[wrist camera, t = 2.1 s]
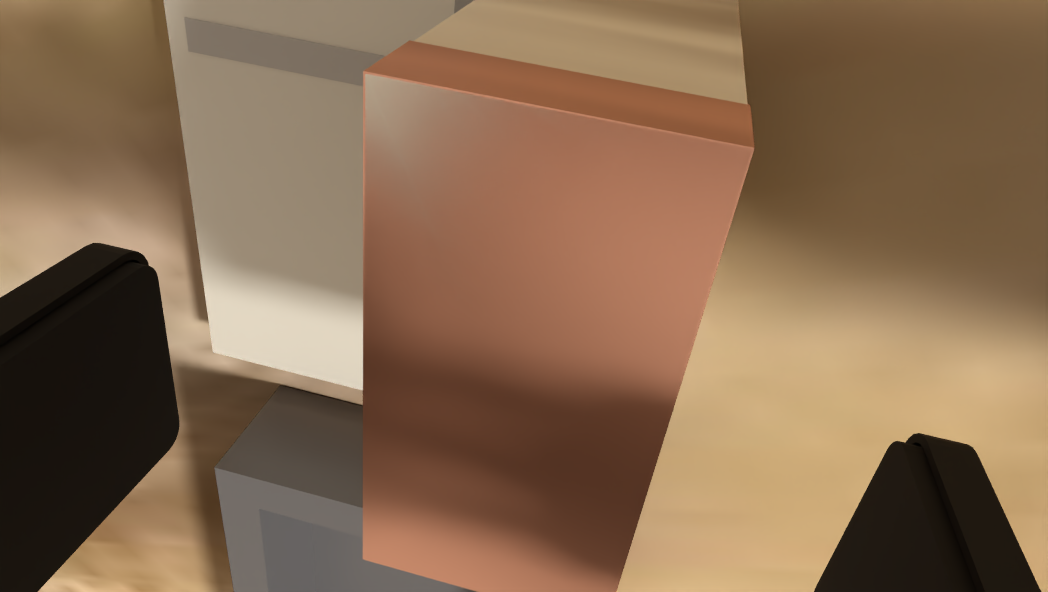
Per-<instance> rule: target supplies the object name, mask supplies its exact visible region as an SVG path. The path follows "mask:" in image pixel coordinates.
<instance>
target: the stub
mask: <svg viewBox="0 0 1048 592" xmlns="http://www.w3.org/2000/svg"><path fill="white" fill-rule="evenodd" d="M754 149H755V146H754V136H753V126H752V116H751V106H750V105H748V104H747V93H746V81H745V70H744V59H743V48H742V37H741V26H740V15H739V4H738V0H474V1H473V2H471V3H470V4H468V5H467V6H465V7H464V8H462V9H461V10H459V11H458V12H456V13H455V14H453V15H452V16H450V17H449V18H447V19H446V20H444V21H443V22H441V23H440V24H438V25H437V26H435V27H434V28H432V29H431V30H429V31H428V32H426V33H425V34H423V35H422V36H420V37H419V38H417V39H416V40H415V41H410V40H409V41H408V42H406V43H405V44H403V45H402V46H400V47H399V48H397V49H396V50H394V51H393V52H391V53H390V54H388V55H387V56H385V57H384V58H382V59H381V60H379V61H378V62H376V63H375V64H373V65H372V66H370V67H369V68H367V69H365V70H364V71H363V560H367V561H370V562H374V563H377V564H381V565H384V566H388V567H392V568H395V569H399V570H402V571H406V572H409V573H413V574H416V575H420V576H424V577H427V578H431V579H434V580H438V581H441V582H445V583H448V584H452V585H455V586H459V587H463V588H466V589H470V590H473V591H477V592H616V591H617V588H618V585H619V581H620V578H621V575H622V572H623V569H624V565H625V562H626V559H627V556H628V553H629V549H630V546H631V543H632V540H633V537H634V533H635V530H636V527H637V524H638V521H639V517H640V514H641V511H642V508H643V505H644V501H645V498H646V495H647V492H648V488H649V485H650V482H651V479H652V476H653V472H654V469H655V466H656V463H657V460H658V456H659V453H660V450H661V447H662V444H663V440H664V437H665V434H666V431H667V428H668V424H669V421H670V418H671V415H672V412H673V408H674V405H675V402H676V399H677V395H678V392H679V389H680V386H681V383H682V379H683V376H684V373H685V370H686V367H687V363H688V360H689V357H690V354H691V351H692V347H693V344H694V341H695V338H696V335H697V331H698V328H699V325H700V322H701V319H702V315H703V312H704V309H705V306H706V303H707V299H708V296H709V293H710V290H711V286H712V283H713V280H714V277H715V274H716V270H717V267H718V264H719V261H720V258H721V254H722V251H723V248H724V245H725V242H726V238H727V235H728V232H729V229H730V226H731V222H732V219H733V216H734V213H735V210H736V206H737V203H738V200H739V197H740V193H741V190H742V187H743V184H744V181H745V177H746V174H747V171H748V168H749V165H750V161H751V158H752V155H753V152H754Z"/></svg>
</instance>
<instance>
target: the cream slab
mask: <svg viewBox="0 0 1048 592" xmlns="http://www.w3.org/2000/svg"><path fill="white" fill-rule="evenodd" d="M473 1H474V0H164V7H165V15H166V22H167V29H168V36H169V43H170V50H171V57H172V64H173V71H174V78H175V86H176V93H177V100H178V107H179V114H180V121H181V128H182V135H183V142H184V150H185V157H186V164H187V171H188V178H189V185H190V192H191V199H192V206H193V213H194V221H195V228H196V235H197V242H198V249H199V256H200V263H201V270H202V277H203V284H204V292H205V299H206V306H207V313H208V320H209V327H210V334H211V341H212V348H213V353H217V354H221V355H225V356H229V357H233V358H237V359H241V360H245V361H249V362H253V363H257V364H261V365H265V366H269V367H273V368H276V369H280V370H284V371H288V372H292V373H296V374H300V375H304V376H308V377H312V378H316V379H320V380H324V381H328V382H332V383H336V384H340V385H344V386H348V387H351V388H355V389H359V390H363V71H364V70H365V69H367V68H369V67H370V66H372V65H373V64H375V63H376V62H378V61H379V60H381V59H382V58H384V57H385V56H387V55H388V54H390V53H391V52H393V51H394V50H396V49H397V48H399V47H400V46H402V45H403V44H405V43H406V42H408V41H409V40H410V41H415V40H416V39H417V38H419V37H420V36H422V35H423V34H425V33H426V32H428V31H429V30H431V29H432V28H434V27H435V26H437V25H438V24H440V23H441V22H443V21H444V20H446V19H447V18H449V17H450V16H452V15H453V14H455V13H456V12H458V11H459V10H461V9H462V8H464V7H465V6H467V5H468V4H470V3H471V2H473Z"/></svg>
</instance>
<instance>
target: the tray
mask: <svg viewBox="0 0 1048 592" xmlns="http://www.w3.org/2000/svg"><path fill="white" fill-rule="evenodd" d="M214 468H215V474H216V481H217V487H218V493H219V500H220V506H221V513H222V519H223V525H224V532H225V538H226V545H227V551H228V557H229V564H230V570H231V576H232V583H233V589H234V592H477V591H473V590H470V589H466V588H463V587H459V586H455V585H452V584H448V583H445V582H441V581H438V580H434V579H431V578H427V577H424V576H420V575H416V574H413V573H409V572H406V571H402V570H399V569H395V568H392V567H388V566H384V565H381V564H377V563H374V562H370V561H367V560H363V406H359V405H355V404H351V403H347V402H343V401H340V400H336V399H332V398H328V397H324V396H320V395H316V394H312V393H308V392H304V391H301V390H297V389H293V388H289V387H285V386H281V385H280V386H279V388H278V389H277V390H276V391H275V393H274V394H273V395H272V396H271V398H270V399H269V400H268V401H267V403H266V404H265V405H264V406H263V408H262V409H261V410H260V411H259V413H258V414H257V415H256V416H255V418H254V419H253V420H252V421H251V423H250V424H249V425H248V426H247V428H246V429H245V430H244V431H243V433H242V434H241V435H240V436H239V437H238V439H237V440H236V441H235V442H234V444H233V445H232V446H231V447H230V449H229V450H228V451H227V452H226V454H225V455H224V456H223V457H222V459H221V460H220V461H219V462H218V464H217V465H216V466H215V467H214Z"/></svg>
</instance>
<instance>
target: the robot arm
mask: <svg viewBox="0 0 1048 592" xmlns="http://www.w3.org/2000/svg"><path fill="white" fill-rule="evenodd" d="M178 431H179V415H178V409H177V402H176V395H175V389H174V382H173V375H172V368H171V362H170V355H169V348H168V341H167V335H166V328H165V321H164V315H163V308H162V301H161V294H160V288H159V281H158V276H157V273H156V271H155V270H154V268H152V267H150V266H149V265H148V261H147V260H146V258H145V257H144V255H142V254H141V253H139V252H136V251H132V250H128V249H123V248H119V247H115V246H110V245H106V244H102V243H92V244H90V245H87V246H85V247H83V248H82V249H80V250H79V251H77V252H75V253H74V254H72V255H70V256H69V257H67V258H65V259H64V260H62V261H60V262H59V263H57V264H55V265H54V266H52V267H50V268H49V269H47V270H45V271H44V272H42V273H40V274H39V275H37V276H35V277H34V278H32V279H31V280H29V281H27V282H26V283H24V284H22V285H21V286H19V287H17V288H16V289H14V290H12V291H11V292H9V293H7V294H6V295H4V296H2V297H1V298H0V592H38V591H39V589H40V588H41V587H42V586H43V585H44V584H45V583H46V582H47V581H48V580H49V579H50V578H51V577H52V575H53V574H54V573H55V572H56V571H57V570H58V569H59V568H60V567H61V566H62V565H63V564H64V563H65V562H66V560H67V559H68V558H69V557H70V556H71V555H72V554H73V553H74V552H75V551H76V550H77V549H78V548H79V546H80V545H81V544H82V543H83V542H84V541H85V540H86V539H87V538H88V537H89V536H90V535H91V534H92V532H93V531H94V530H95V529H96V528H97V527H98V526H99V525H100V524H101V523H102V522H103V521H104V520H105V518H106V517H107V516H108V515H109V514H110V513H111V512H112V511H113V510H114V509H115V508H116V507H117V506H118V504H119V503H120V502H121V501H122V500H123V499H124V498H125V497H126V496H127V495H128V494H129V493H130V492H131V490H132V489H133V488H134V487H135V486H136V485H137V484H138V483H139V482H140V481H141V480H142V479H143V478H144V476H145V475H146V474H147V473H148V472H149V471H150V470H151V469H152V468H153V467H154V466H155V465H156V464H157V462H158V461H159V460H160V459H161V458H162V457H163V456H164V455H165V454H166V453H167V452H168V451H169V449H170V448H171V447H172V445H173V444H174V442H175V440H176V437H177V435H178ZM814 592H1041V590H1040V589H1039V586H1038V584H1037V582H1036V580H1035V578H1034V576H1033V573H1032V571H1031V569H1030V567H1029V565H1028V563H1027V561H1026V558H1025V556H1024V554H1023V552H1022V550H1021V548H1020V545H1019V543H1018V541H1017V539H1016V537H1015V535H1014V532H1013V530H1012V528H1011V526H1010V524H1009V522H1008V519H1007V517H1006V515H1005V513H1004V511H1003V509H1002V507H1001V504H1000V502H999V500H998V498H997V496H996V494H995V491H994V489H993V487H992V485H991V483H990V481H989V478H988V476H987V474H986V472H985V470H984V468H983V465H982V463H981V461H980V459H979V457H978V455H977V453H976V451H975V450H974V449H973V447H971V446H969V445H967V444H963V443H959V442H955V441H950V440H946V439H942V438H938V437H933V436H929V435H925V434H920V433H917V434H913V435H912V436H911V437H910V438H908V440H907V441H906V443H904V442H900V441H895V442H893V443H892V444H891V445H890V446H889V448H888V449H887V451H886V453H885V455H884V457H883V459H882V461H881V463H880V465H879V467H878V468H877V470H876V472H875V474H874V476H873V478H872V480H871V482H870V484H869V486H868V488H867V490H866V492H865V493H864V495H863V497H862V499H861V501H860V503H859V505H858V507H857V509H856V511H855V513H854V515H853V517H852V518H851V520H850V522H849V524H848V526H847V528H846V530H845V532H844V534H843V536H842V538H841V540H840V542H839V544H838V545H837V547H836V549H835V551H834V553H833V555H832V557H831V559H830V561H829V563H828V565H827V567H826V569H825V570H824V572H823V574H822V576H821V578H820V580H819V582H818V584H817V586H816V588H815V591H814Z"/></svg>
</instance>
